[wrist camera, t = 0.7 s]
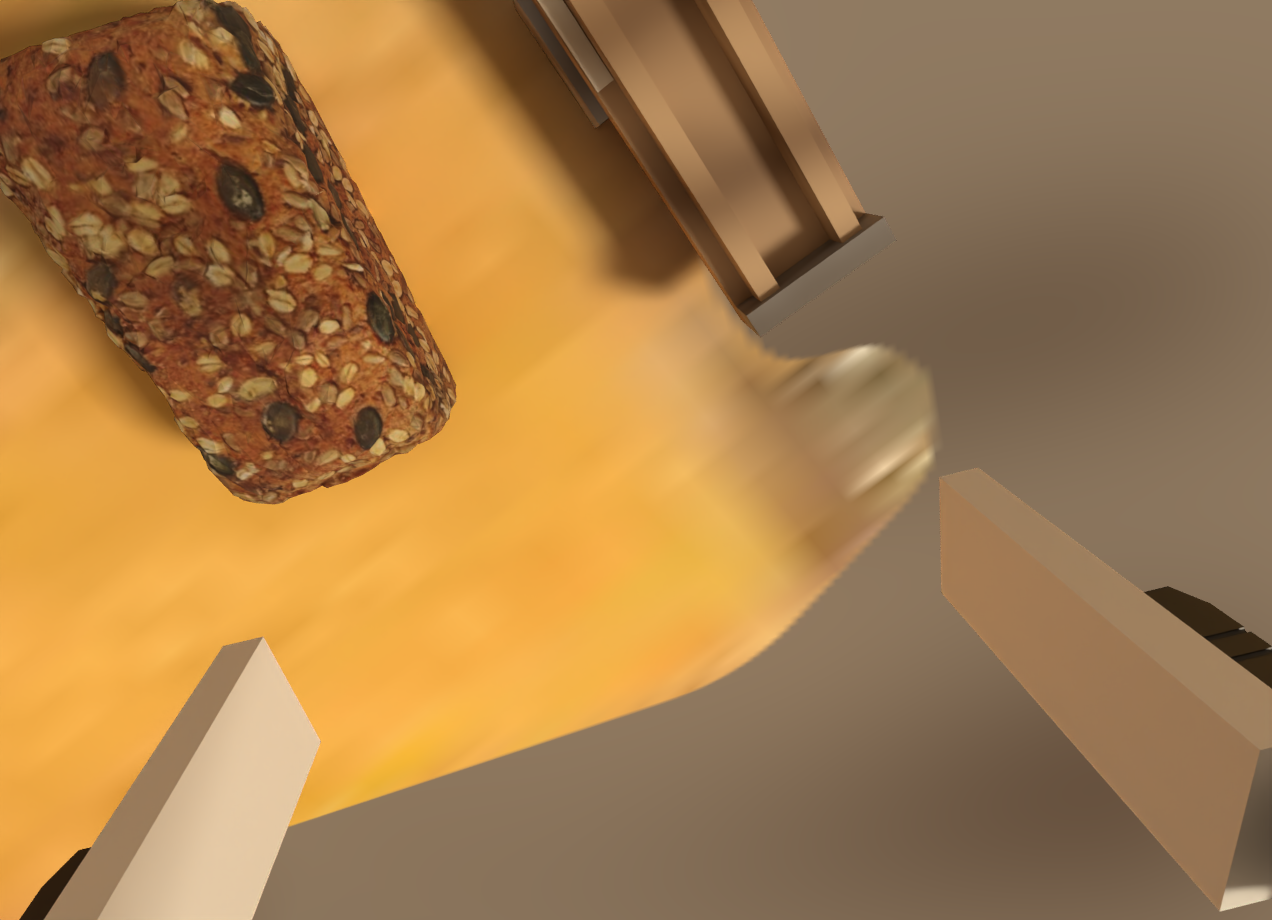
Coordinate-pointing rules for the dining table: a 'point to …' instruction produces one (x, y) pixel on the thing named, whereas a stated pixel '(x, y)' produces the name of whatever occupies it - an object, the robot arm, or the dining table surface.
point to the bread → (222, 244)
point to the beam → (717, 141)
